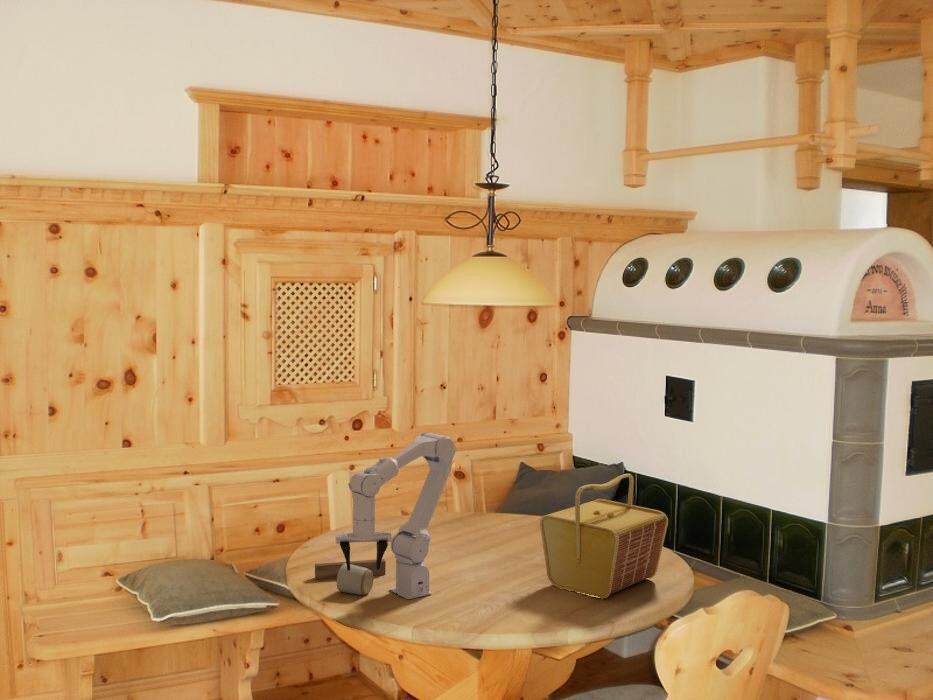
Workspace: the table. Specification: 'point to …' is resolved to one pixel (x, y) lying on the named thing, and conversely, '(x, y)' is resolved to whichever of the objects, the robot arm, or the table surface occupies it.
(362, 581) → the ceramic mug
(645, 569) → the picnic basket
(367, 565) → the rail
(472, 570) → the table surface
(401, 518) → the table surface
